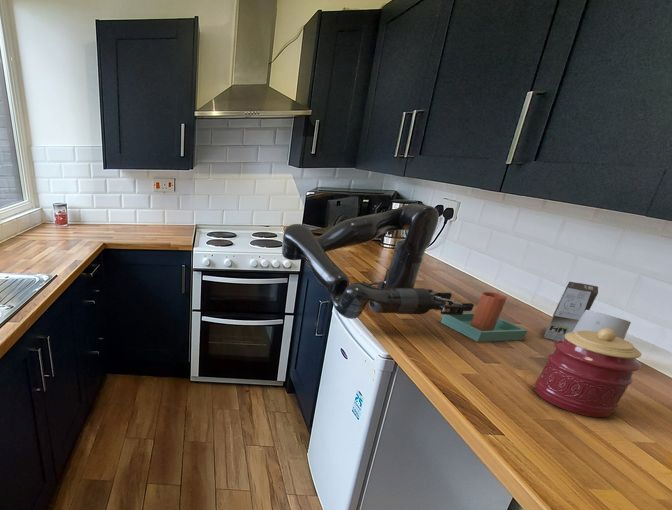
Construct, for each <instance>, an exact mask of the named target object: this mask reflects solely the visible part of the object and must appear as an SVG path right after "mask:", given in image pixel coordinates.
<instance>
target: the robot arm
mask: <svg viewBox="0 0 672 510" xmlns="http://www.w3.org/2000/svg"><path fill="white" fill-rule="evenodd" d="M439 213H440V212H439V211H438V210H437V208H436V207H434V206H431V205H427V204H422V203H416V202H415V203H409V204H405V205H403V206H399V207H397V208H394V209H391V210H387V211H383V212H378V213H372V214H367V215H360V216H356V217H351V218H347V219H344V220H342V221H341V222H338V223H337V224H336V225H334V226H332V227H331V228H330V229H329V230H327V231H325V232H324V233H323V234H321V235H319V236H315V235H314V233H313V231H312V230H311V229H310V228H309V227H308V226H307V225H305V224H301V223H292V224H290V225H287V226H286V228H285V229H284V232H283V234H282V243H281V254H282V256H283V258H284V259H286V260H289V261H300V260H305V259H306V261H307V262H308V265H309V267H310V269H311V272H312V274H313V276H314V278H315V279H316V280H317V282H318V283H319V284H320V285H321V286H322V287H323V289H324V290H325V291H326V292H327V293H328V296H329V299H330V300H331V302H332V305H333V307H334V309H335V310H336V311H337V313H338V314H339V315H341V316H342V317H343V318H346V319H350V320H354V319H357V318H359V317H360V316H362V314H363V312H364V310H365V308H366V306H367V305H368V306H369V309H370V310H371V311H372V312H373V313H377V314H396V315H425V314H427V313H428V312H429V311H430V310H431V311H439V312H440V314H441V315H443V314H446V315H462V314H463V313H464V312H472V311H473V309H474V306H475V304H474V303H473V302H472V303H471V302H457V301H453V300H452V299H451V298H452V296H453V294H452V292H439V291H437V290H435V291H434V290H433V289H431V288H429V289H426V288H424V287H423V288H421V287H420V288H419V287H415V285H416V282H417V278H418V275H419V272H420V268H421V266H422V263H423V259H424V255H425V253H426V250H427V249H428V247H430V244H431V243H432V240H433V237H434V235H435V233H436V230H437V227H438V224H439V219H440V215H439ZM395 231H407V234H406V236H405V238H404V239H403V240H398V241H397V242H396V243H395V246H394V250H393V253H392V256H391V260H390V264H389V268H387V269H386V271H385V275H384V278H383V281H378V282H371V283H368V282H366V281H364V280H363V281H362V282H352V283H350V278H349V277H348V275H347V274H346V273H344V271H343V270H342V269H341V268H340V267H339V266H338V265H337V264H336V263H335V262H334V261H333V260H332V259H331V257H329V255H328V254H327V252H330V251H331V252H332V251H335V250H339V249H343V248H347V247H354V246H359V245H362V244H367V243H370V242H372V241H374V240H375V239H376V238H378V237H380V236H382V235H384V234H385V233H390V232H395ZM375 285H377V286H376V287H375ZM446 303H447V304H446Z"/></svg>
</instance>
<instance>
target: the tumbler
mask: <svg viewBox="0 0 672 510" xmlns="http://www.w3.org/2000/svg"><path fill="white" fill-rule="evenodd" d="M507 299H508V297H507V296H506V295H503V294H501V293H497V292H491V291H483V292H481V295H480V298H479V300H478V303H477V304H476V305H477V306H476V308H475V310H474V312H473V313H474V316H473V318H472V321H471V323H470V326H472V327H474V328H476V329H478V330H480V331H493V330H494V328H495V326H496V324H497V321H498V319H499V318H500V316H501V314H502V311H503V310H504V307H505V304H506V302H507Z"/></svg>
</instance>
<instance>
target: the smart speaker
mask: <svg viewBox="0 0 672 510" xmlns="http://www.w3.org/2000/svg"><path fill="white" fill-rule="evenodd" d="M631 323H632V321H629V320H626V319H623V318H621V317H616V316H612V315H610V314H606V313H602V312H599V311H595V310H591V309H590V310H585V312H584V313H583V315H582V317H581V318H580V320H579V321H578V323H577V325H576V326H575V328H574V329H573V331H572V332H577V331H582V330H584V331H594V332H598V331H599V330H601V329H604V328H609V329H612V330H614V331H615V332H616V337H618V338H621V339H623V340H625V337H626V335H627V333H628V330H629V328H630V326H631Z"/></svg>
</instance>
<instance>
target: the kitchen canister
mask: <svg viewBox="0 0 672 510" xmlns="http://www.w3.org/2000/svg"><path fill="white" fill-rule="evenodd" d="M565 338H566V339H565V340H559V341H555V342H554V347H555V350H554V351H553V353H550V354H549V355H548V356H547V361H546V363H545V366H544V367H543V369H542V371H541V373H540V374H539V376H538V377H537V379H536V381H535V383H534V384H535V386H534V391H535V393H536V394H537V395H538V396H539V397H540V398H541V399H543V400H545V401H546V402H548V403H550V404H552V405H554V406H555V407H558V408H560V409H563V410H566V411H568V412H571V413H574V414H578V415H582V416H586V417H592V418H606V417H609V416H610V415H612V413H613V412H615V411H616V410H617V408H618V406H619V402H620V401H621V399H622V397H623V396H624V394H625V393H626V391H627V389H628V388H629V386H630V385H631V384H632V383H633V381H634V379H633V374H634V372H636V371H637V372H638V371H639V370H641V368H642V364H641V363H640V362H639V360H638V359H639V358H641V356H642V352H641V351H640V350H639V349H637V348H636V347H635V346H634V345H633V344H632V343H631V342H629V341H627V340H625V339H624V340H623V339H621V338H618V337H616V332H615V331H614V330H612V329H609V328H604V329H601V330H599V331H598V332H594V331H584V330H582V331H577V332H570V333H566V334H565Z"/></svg>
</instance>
